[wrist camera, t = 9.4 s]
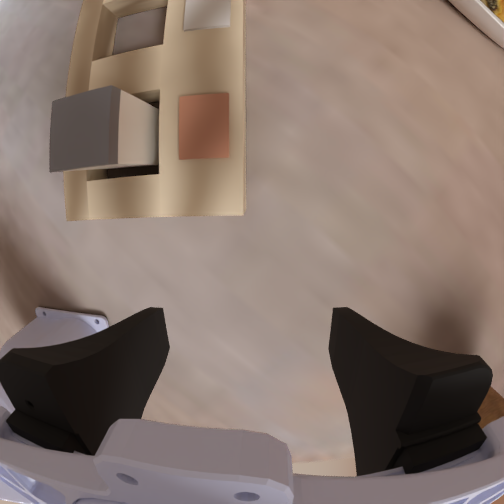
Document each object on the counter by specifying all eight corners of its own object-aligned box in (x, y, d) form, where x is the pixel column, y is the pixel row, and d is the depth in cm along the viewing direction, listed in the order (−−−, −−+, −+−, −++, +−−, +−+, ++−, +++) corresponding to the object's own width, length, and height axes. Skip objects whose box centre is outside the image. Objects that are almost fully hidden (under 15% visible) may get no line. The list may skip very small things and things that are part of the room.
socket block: (87, 214, 21) (64, 221, 18) (101, 3, 16) (84, -12, 12) (246, 209, 20) (242, 216, 17) (245, -24, 15) (243, -47, 12)
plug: (115, 168, 20) (49, 172, 12) (116, 118, 19) (52, 101, 11) (162, 164, 20) (108, 164, 12) (163, 112, 19) (111, 85, 11)
